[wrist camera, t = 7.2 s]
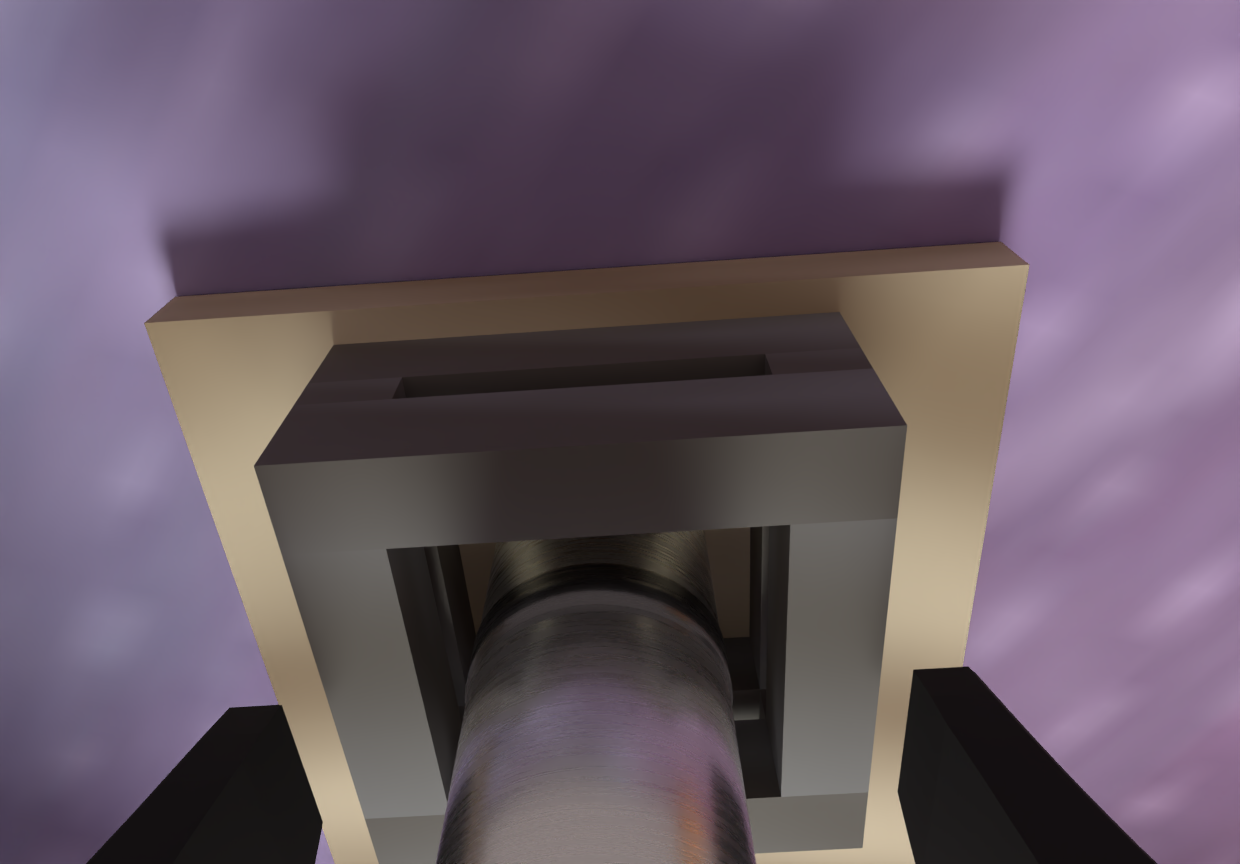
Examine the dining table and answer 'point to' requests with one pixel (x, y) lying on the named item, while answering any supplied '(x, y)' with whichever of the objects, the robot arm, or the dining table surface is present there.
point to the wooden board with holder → (608, 500)
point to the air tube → (598, 711)
